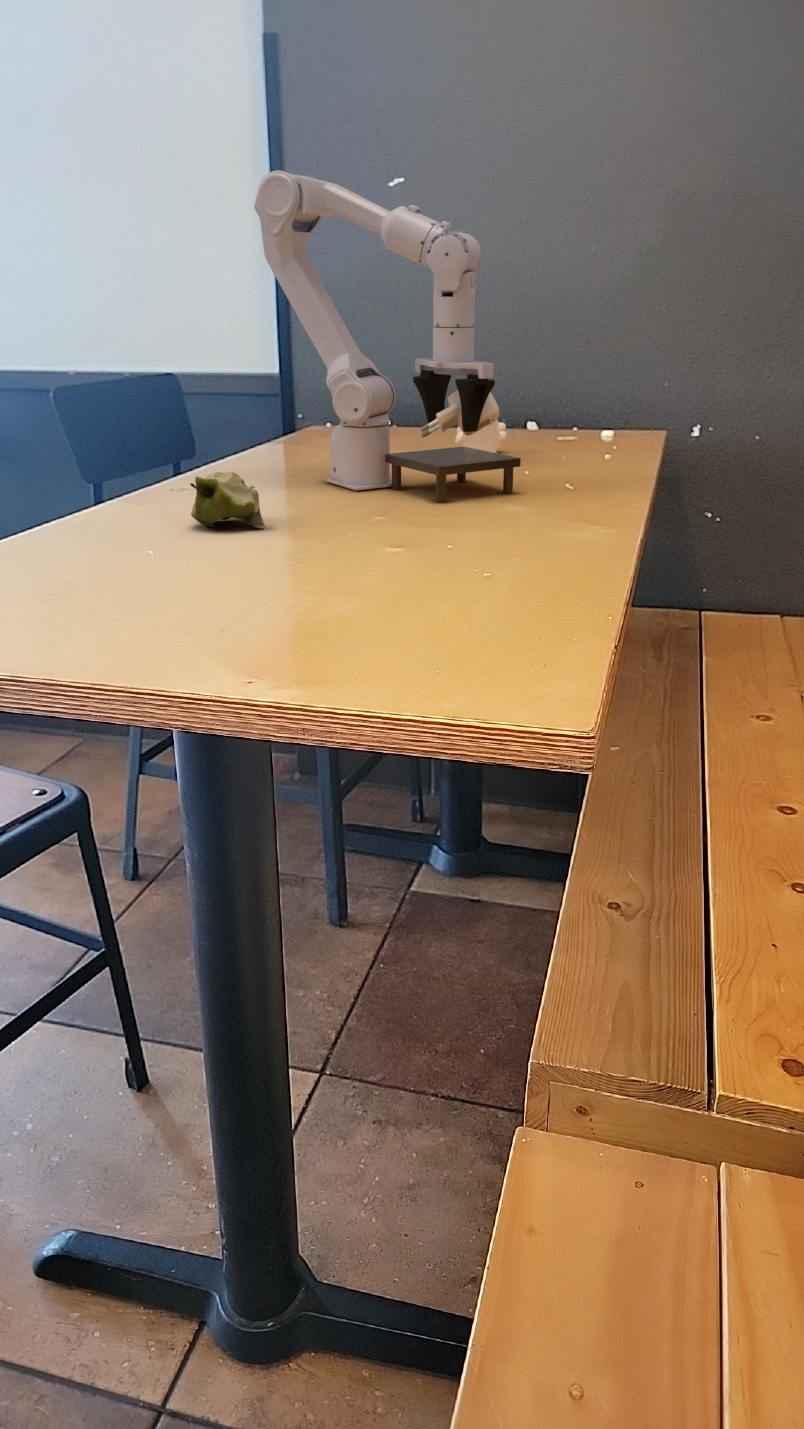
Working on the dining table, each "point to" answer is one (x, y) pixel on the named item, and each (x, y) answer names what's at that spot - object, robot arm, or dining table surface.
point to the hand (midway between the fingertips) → (452, 428)
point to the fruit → (225, 500)
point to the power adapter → (454, 415)
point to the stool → (452, 465)
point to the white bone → (484, 437)
